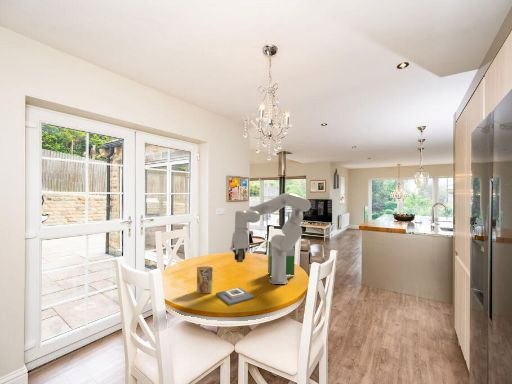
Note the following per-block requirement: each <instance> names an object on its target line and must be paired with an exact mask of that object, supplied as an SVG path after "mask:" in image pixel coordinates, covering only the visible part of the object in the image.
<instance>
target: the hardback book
mask: <svg viewBox="0 0 512 384" xmlns="http://www.w3.org/2000/svg"><path fill="white" fill-rule="evenodd" d="M295 246H296V244H295V245H294V247H293V248H292V249H291V250H290V251H288V252H286V274H287V275H289V274H290V275H294V276H295V255H296V254H295V253H296V251H295V250H296V249H295V248H296V247H295ZM267 252H268V258H267V259H268V261H267V263H268V265H267V267H268V268H267V269H268V270H267V274H268V273H269V274H270V275H269V277H270V276H272V248H271V241H268V251H267Z"/></svg>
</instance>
